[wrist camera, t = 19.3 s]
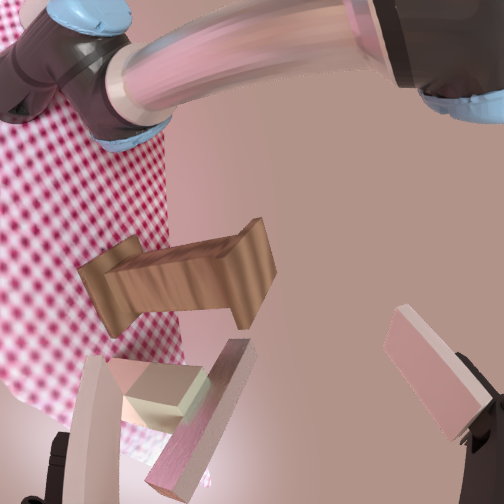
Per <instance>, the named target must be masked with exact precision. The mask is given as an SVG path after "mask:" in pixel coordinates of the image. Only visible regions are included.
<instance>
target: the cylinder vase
mask: <svg viewBox="0 0 504 504" xmlns="http://www.w3.org/2000/svg"><path fill="white" fill-rule="evenodd" d="M49 1H50V0H26V1H25V2H24V3H23V4H22V6H21V8H20V11H19V20H20V23H21V25H22V26H23V28H24V29H25V30H26V29H27V27H28V26H29V25H30V24H31V23H32V21H33V20H34V19H35V18H36V17H37V16H38V14H39V13H40V12H41V11H42V10H43V9H44V8H45V7H46V6H47V4H48V2H49Z"/></svg>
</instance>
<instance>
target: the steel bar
mask: <svg viewBox="0 0 504 504" xmlns="http://www.w3.org/2000/svg"><path fill="white" fill-rule="evenodd" d="M256 358H257V354H256V351H255V348H254V346H253V343H252V340H251V339H229V340H228V342H227V343H226V345H225V347H224V349H223V350H222V352H221V354H220V355H219V357H218V359H217V361H216V362H215V364H214V366H213V367H212V369H211V371H210V373H209V374H208V376H207V378H206V379H205V381H204V383H203V384H202V386H201V388H200V390H199V391H198V393H197V395H196V396H195V398H194V400H193V401H192V403H191V405H190V406H189V408H188V410H187V411H186V413H185V415H184V416H183V418H182V420H181V421H180V423H179V425H178V426H177V428H176V430H175V431H174V433H173V435H172V436H171V438H170V440H169V441H168V443H167V445H166V446H165V448H164V449H163V451H162V453H161V454H160V456H159V458H158V459H157V461H156V462H155V464H154V466H153V467H152V469H151V471H150V472H149V474H148V475H147V477H146V479H145V480H144V481H145V482H146V483H148V484H149V485H150V486H151V487H152V488H153V489H155V490H156V491H157V492H158V493H160V494H161V495H164V496H166V497H169V498H172V499H175V500H177V501H180V502H183V503H186V504H188V503H189V501H190V499H191V497H192V495H193V493H194V491H195V489H196V487H197V486H198V484H199V482H200V480H201V478H202V476H203V474H204V472H205V470H206V468H207V466H208V463H209V461H210V459H211V457H212V455H213V453H214V451H215V449H216V447H217V445H218V442H219V441H220V439H221V437H222V434H223V432H224V430H225V428H226V425H227V424H228V422H229V419H230V417H231V415H232V413H233V411H234V408H235V406H236V404H237V402H238V399H239V397H240V395H241V393H242V391H243V389H244V386H245V384H246V382H247V379H248V377H249V375H250V373H251V370H252V368H253V366H254V363H255V361H256Z"/></svg>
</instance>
